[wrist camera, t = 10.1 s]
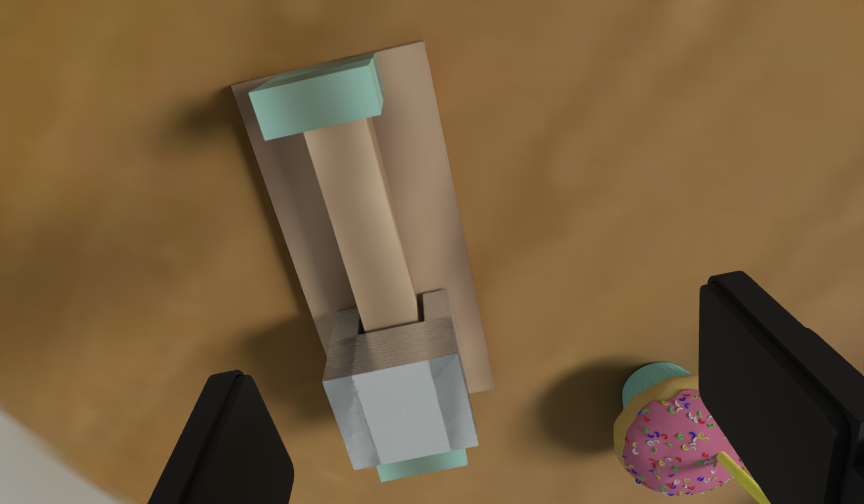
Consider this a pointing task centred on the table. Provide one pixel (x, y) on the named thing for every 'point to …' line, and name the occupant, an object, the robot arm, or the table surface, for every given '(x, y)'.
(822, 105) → the table surface
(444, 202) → the rail bed
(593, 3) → the table surface
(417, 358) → the grey sliding block
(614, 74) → the table surface
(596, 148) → the table surface
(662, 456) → the cupcake
